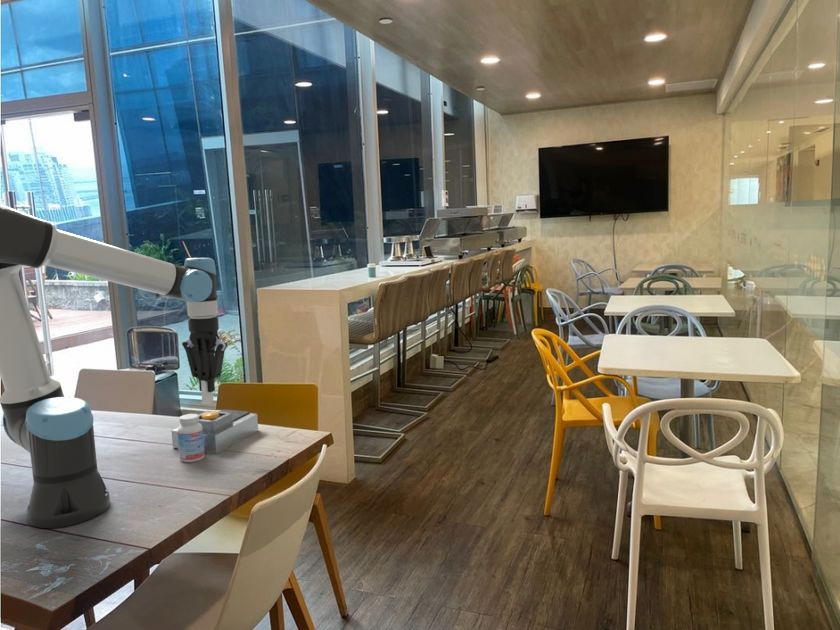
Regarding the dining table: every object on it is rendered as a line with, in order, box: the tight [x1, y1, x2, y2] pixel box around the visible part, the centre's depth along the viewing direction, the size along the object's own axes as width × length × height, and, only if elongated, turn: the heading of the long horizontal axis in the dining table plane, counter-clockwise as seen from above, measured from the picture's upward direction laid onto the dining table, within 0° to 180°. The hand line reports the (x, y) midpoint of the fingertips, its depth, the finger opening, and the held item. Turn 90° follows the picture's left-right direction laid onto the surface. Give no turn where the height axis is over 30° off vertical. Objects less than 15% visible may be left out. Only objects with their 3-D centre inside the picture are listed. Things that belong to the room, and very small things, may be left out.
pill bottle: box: [177, 413, 205, 463], centre depth 157 cm, size 6×6×11 cm
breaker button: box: [201, 412, 219, 421], centre depth 167 cm, size 4×4×8 cm
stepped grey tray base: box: [171, 409, 259, 455], centre depth 171 cm, size 19×14×8 cm
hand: (207, 403), depth 165 cm, fingers closed
